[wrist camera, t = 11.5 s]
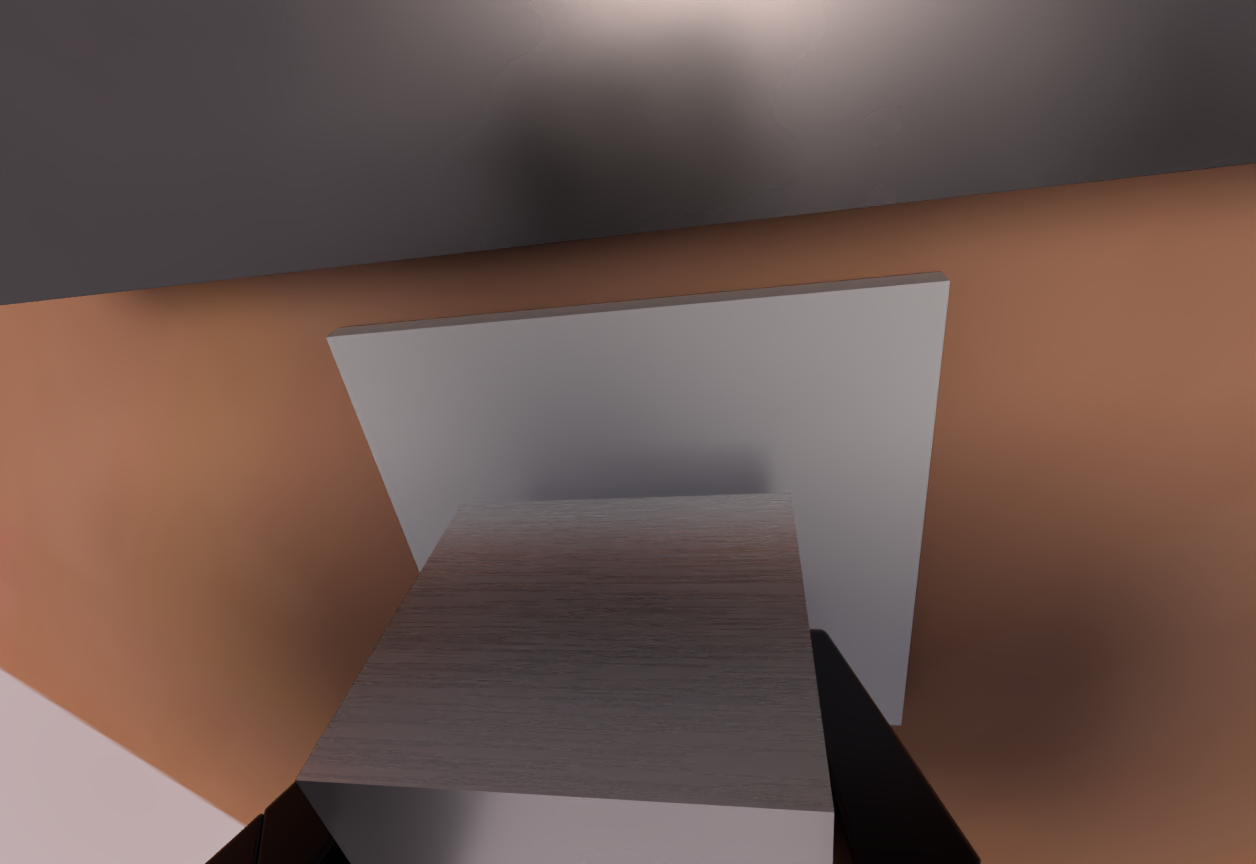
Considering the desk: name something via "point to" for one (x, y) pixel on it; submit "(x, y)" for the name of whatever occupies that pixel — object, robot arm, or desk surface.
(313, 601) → the desk surface
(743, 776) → the light grey block
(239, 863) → the robot arm
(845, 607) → the felt mat
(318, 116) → the dark grey base plate
